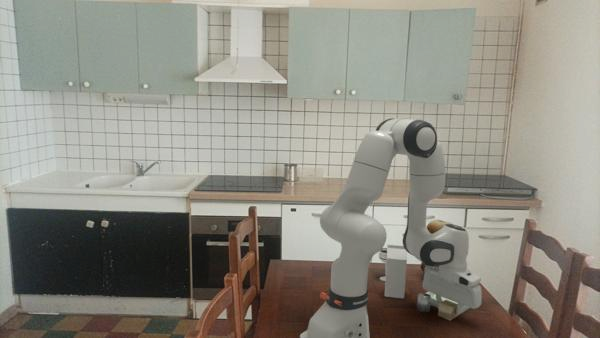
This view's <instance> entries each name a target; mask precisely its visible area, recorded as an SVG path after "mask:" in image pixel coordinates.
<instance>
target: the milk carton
mask: <svg viewBox="0 0 600 338" xmlns="http://www.w3.org/2000/svg"><path fill="white" fill-rule="evenodd" d="M386 248H387V260H386V264H385V270H386V277H385V281H384V282H385V283H384V297H387V298H394V299H405V289H406V276H407V262H408V252H407V251H406V250H405V248H404V246H403V245H395V244H387V247H386Z"/></svg>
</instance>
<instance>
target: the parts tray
mask: <svg viewBox="0 0 600 338" xmlns="http://www.w3.org/2000/svg"><path fill="white" fill-rule="evenodd" d="M425 293H426V294H429V295H430V296H431V303H430V306H433V307H435V308H437V309H439V307H438V301H437V299H436V294H434V293H431V292H429V291H426V292H425ZM441 298H442V301H444V300H449V299H447V298H444V297H441ZM449 301H451V302H454V301H452V300H449ZM454 303H456V304H458V303H457V302H454ZM458 307H459V306H458ZM470 309H471V308H470V307H467V306H465V305H464V307H463V308H462V309H461V313H460V315H461V314H462V313H464V312H466V311H468V310H470Z"/></svg>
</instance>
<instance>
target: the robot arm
mask: <svg viewBox="0 0 600 338" xmlns="http://www.w3.org/2000/svg"><path fill="white" fill-rule="evenodd" d="M397 154H399V155H404V156H407V158H408V160H409V162H408V163H409V164H408V165H409V166H408V167H409V171H408V172H409V192H408V197H407V198H408V199H407V220H406V227H405V231H404V234H403V236H402V246H404V248H405V250H406V251H407V254H410V255H412V256H413V257H415V258H416V259H417V260H418V261H419V262H422V263H424V264H425V265H427V266H426V267H425V271H424V273H425V274H424V273H423V274H424V275H423V279H422V287H421V288H423V289H422V290H424V291H425V292H431V293H434V294H436V299H437V301H438V307H439V303H440V302H442V298H441V297H444V298H447V299H449V300H452V301H454V302H457V303H458V306H459V307H458V308H455V309H454V314H456V315H457V316H460V315H461V314H462V313H461V309H462V308H463V307H464V305H465V306H467V307H470V309H473V310H476V309H477V308H480V306H481V305H482V300H483V298H482V297H483V296H482V287H481V285H480V283H481V281H482V278H481V276H480V275H478V274H476V272H474V271H472V270H471V269H470V268H469V267H468V262H467V257H468V254H469V247H470V246H469V245H470V244H469V241H470V240H469V239H470V238H469V233H468V231H467V230H466V229H465V228H463V226H460V225H456V224H453V223H452V224H445V225H444V227H443V228H442V229H440V230H439V231H437V232H435V233H433V234H431V233H430V232H429V231H428V229H427V211H428V210H427V209H428V203H429V202H430V201H431V200H432V201H433V200H435V199H436V198H439V197H440V196H441V195H442V193H443V192H444V190H445V187H446V164H445V162H446V161H445V157H444V156H445V155H444V150H443V147H442V143H440V141H439V140H438V135H437V132H436V129H435V127H434V126H433V124H431V123H430V122H428V121H425V120H422V119H413V118H412V119H411V118H407V117H401V118H394V117H393V118H392V117H391V118H388V119H385V120H383V121H381V122H380V123H379V124H378V125H377V127H376V129H375V130H371V131H368V132H367V133H366V134H365V135H364V137H363V139H362V141H361V143H360V144H359V146H358V148H357V150H356V154H355V156H354V159H353V162H352V164H351V168H350V171H349V174H348V177H347V179H346V182H345V184H344V187H343V188H342V190H341V192H340V194H339V195H338V196H337V198H336V199H335V200H334V202H333V203H332V204H330V205H329V206H327V207H326V208H325V209H324V210H323V211H322V213H321V215H320V218H319V224H320V228H321V229H322V231H323V232H324V233H325V234H326V236H328V237H329V238H330V239H332V240H333V241H336V242H337V243H340V245H341V246H340V248H341V251H340V254H339V257H338V258H336V259H334V260H333V262H332V264H331V266H330V267H331V268H330V269H331V270H330V286H329V287H328V290H327V293H326V292H325V291H322V292H320V294H319V298H320V299H321V300H324V302H323V304H322V305H321V306H320V307H319V308H318V310H317V311H316V312H314V314H313V316H311V317H310V320H309V322H308V325H307V326H308V327H307V329H306V330H305V331H303V332H302V333H300V335H299V338H371V337H370V336H371V333H370V325H369V323H370V322H369V315H368V314H369V313H368V309H367V304H368V301H369V290H368V287H367V286H368V278H369V277H368V276H369V267H370V265H371V260H372V259H373V258H374V257H373V256H375V255H376V254H379V252H380V250H381V249H382V248H384V246H385V243H386V241H387V231H386V228H385V227H384V225H383V224H382V223H380V222H379V221H378V220H377V219H376V218H374V217H373V216H371V215H368V214H365V213H366V212H367V209H368V208H369V206H371V204H372V203H374V202H375V201H377V200H379V199H380V198H381V197H382V194H383V193H384V192H383V191H384V189H385V186H386V182H387V178H388V176H389V172H390V169H391V166H392V162H393V160H394V158H395V157H396V155H397ZM435 266H439V267H435ZM460 313H461V314H460Z"/></svg>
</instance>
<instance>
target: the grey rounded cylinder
mask: <svg viewBox="0 0 600 338" xmlns="http://www.w3.org/2000/svg"><path fill="white" fill-rule="evenodd" d="M426 293H427V292H425V293H424V292H420V293H418V294H417V300H416V301H417V303H416V309H417V311H418V312H422V313H429V312H431V305H430V303H431V296H430V295H429V294H426Z"/></svg>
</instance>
